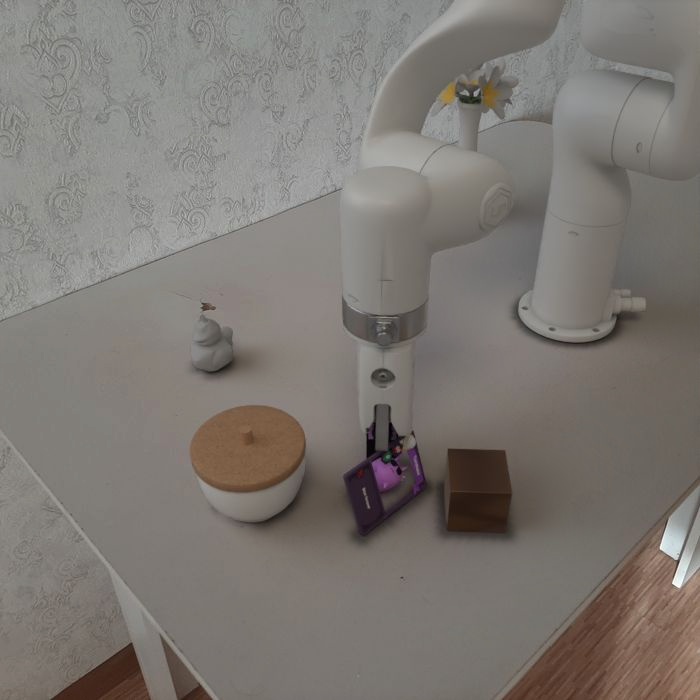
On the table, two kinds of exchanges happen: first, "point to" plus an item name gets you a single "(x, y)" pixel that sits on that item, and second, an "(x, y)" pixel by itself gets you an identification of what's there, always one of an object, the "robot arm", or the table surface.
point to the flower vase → (477, 98)
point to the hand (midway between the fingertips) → (382, 457)
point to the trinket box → (249, 461)
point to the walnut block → (477, 490)
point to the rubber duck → (211, 345)
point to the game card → (381, 482)
